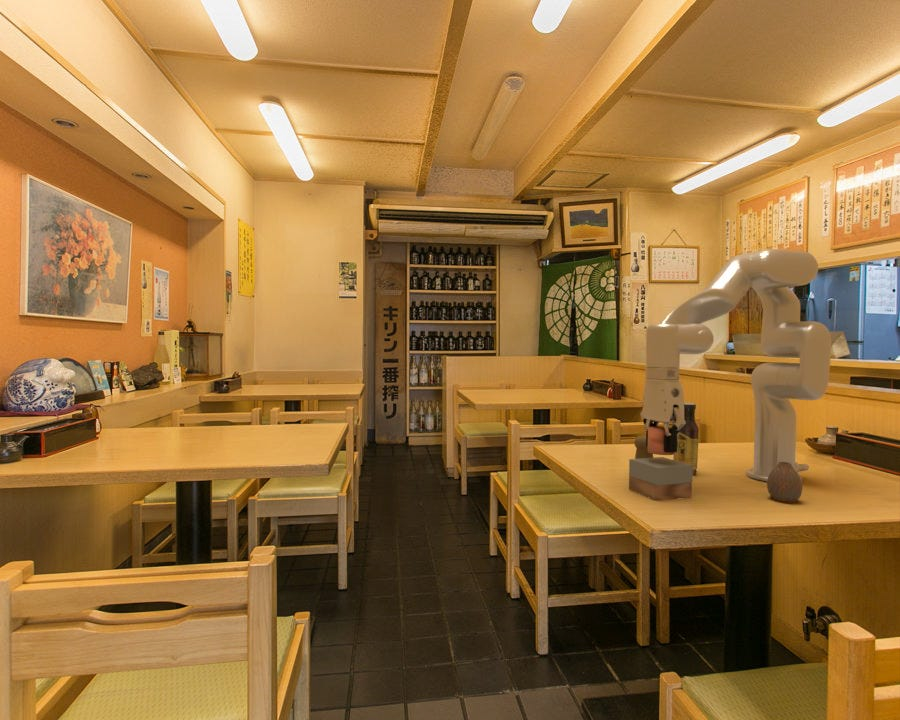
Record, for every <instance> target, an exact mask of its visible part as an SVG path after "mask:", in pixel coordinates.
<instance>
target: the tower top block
mask: <svg viewBox="0 0 900 720" xmlns="http://www.w3.org/2000/svg"><path fill="white" fill-rule="evenodd" d="M628 461H629V464H628V466H629V467H628V472H629V473H628V476H629V475H630V476H633V477H635V478H638V479H641V480H644V481H647V482H649V483H652V484H655V485H668V484H679V483H693V481H694V480H693V479H694V478H693V465H690V464H686V463H682V462H679V461H675V460H673V459H671V458H667V457H664V456H659V457H658V456H657V457H654V456H653V458H640V459H635V458H629V460H628Z"/></svg>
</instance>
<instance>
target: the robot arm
mask: <svg viewBox="0 0 900 720" xmlns="http://www.w3.org/2000/svg"><path fill="white" fill-rule="evenodd" d="M818 272H819V264H818V261H817V259H816V257H815V256H814V255H813V254H811V253H810V252H808V251H805V250H804V251H803V250H790V249H778V248H777V249H775V248H773V249H772V248H769V249H761V250H757V251H751V252H746V253H741V254H737V255H735V256H732V257H731V258H729V259H728V260H727V261H726V262H725V264H723V266H722V267H721V268H720V269H719V271H717V273H716V275H715V276H714V277H713V278H712V279H711V280H710V282H709V283H708V284H707V285H706V286H705V288H704V289H703V290H702V291H699V293H697V294H695V295H693V296H692V297H690V298H689V299H688V300H686V301H685V302H682V303H681V304H679V305H678V306H677V307H675V308H674V309H673V310H672V311H670V312H669V314H667V316H665V318H664V319H663V320H662V321H661V322H660V323H653V324H650V325H648V326H647V328H646V332H645V339H646V340H645V382H644V386H643V397H642V410H641V412H640V413H639V415H640V418H641V419H642V422H643V424H644V430H645V431H646V432H645V436H646V446H647V447H648V427H649V426H659V423H662V424H663V426H664V428H665V432H666V435H664V452H666V453H670V452H677V436H678V435H679V432H680V431H681V429H682V427H683V426H684V425H685V424H686V422H685V420H684V403H685V401H684V400H685V398H684V391H683V385H682V382H681V381H680V367H681V366H680V363H681V361H680V359H681V355H700V354H704V353H706V352H707V351H708V350H709V349H711V348H712V347H713V343H714V334H713V331H712V330H711V329H710V328H709V327H708V326H706V325H704V324H702V323H705V322H708V321H712V320H714V319H717V318H720V317H722V316H725V315H727V314H729V313H730V312H732V311H733V310H734V309H735V308H736V307H737V305H738V304H739V302H740V301H741V300H742V299H743V297H745V295H746V294H747V292H748V291H749V290H750V289H751V288H752V289H753V290H754V291H755V293H756V294H757V296H758V297H759V299H760V300H761V303H762V304H761V305H762V324H761V333H760V334H761V335H760V347H761V351H762V352H763V354H764V355H766V356H768V357H771V358H786V359H789V358H791V359H792V358H793V359H795V358H796V359H799V362H782V361H781V362H780V361H778V362H777V361H773V362H765V363H760V364H759V365H757V366H756V367H755V368H754V369H753V370H752V372H751V377H750V383H751V388H752V393H753V400H754V431H753V432H754V435H753V436H754V437H753V439H754V441H753V443H754V444H753V468H750V469H747V471H746V475H747V476H748V477H749V478H751V479H754V480H758V481H761V482H767V478H768V476H769V474H770V472H771V471H772V470H773V469H774V468H775V467H776V466H777V465H778V463H779V462H789V463H791V464H792V467H793V468H794V470H795V471H796V472H797V473H798V474H799V472H807V471H808V470H809V465H808V464H807V463H799V462H796V447H797V446H796V445H797V444H796V442H797V440H796V439H797V413H796V409H795V408H794V406H793V404H792V403H791V400H799V401H817V400H819V399H821V398H823V397H824V395H826V392H827V391H828V386H829V382H830V381H829V380H830V379H829V378H830V371H831V370H830V368H831V367H830V366H831V356H832V338H831V337H832V336H831V334H830V331H829V328H828V327H827V326H826V325H825V324H823V323H821V322H819V321H814V320H812V321H809V320H808V321H807V320H806V321H801V301H800V299H799V298H798V297H797V295H796V294H795V293H794V291H793V290H792V289H791V288H792V287H799V286H805V285H808V284H810V283H811V282H813V281H814V279H815V278H816V277H817V275H818ZM790 287H791V288H790ZM670 427H671V429H670ZM799 476H800V478H801V480H802V481H803V477H802V476H801V475H799Z"/></svg>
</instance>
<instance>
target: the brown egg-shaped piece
mask: <svg viewBox="0 0 900 720" xmlns="http://www.w3.org/2000/svg"><path fill="white" fill-rule="evenodd" d="M800 476H801V475H800V474H799V472H798V473H797V472H796V471H795V470H794V468H793V467H792V464H791V463H789V462H779V463H778V465H777V466H776V467H775V468H774V469H773V470H772V471H771V472H770V474H769V476H768V478H767V481H766V487H767V491H768V494H769V495H770V497H771V498H772V499H774V500H775V501H778V502H782V503H795V502H796V501H798V500H799V499H800V498H801V497H802V493H803V488H804V487H803V486H804V485H803V479H802V480H801V478H800Z"/></svg>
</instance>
